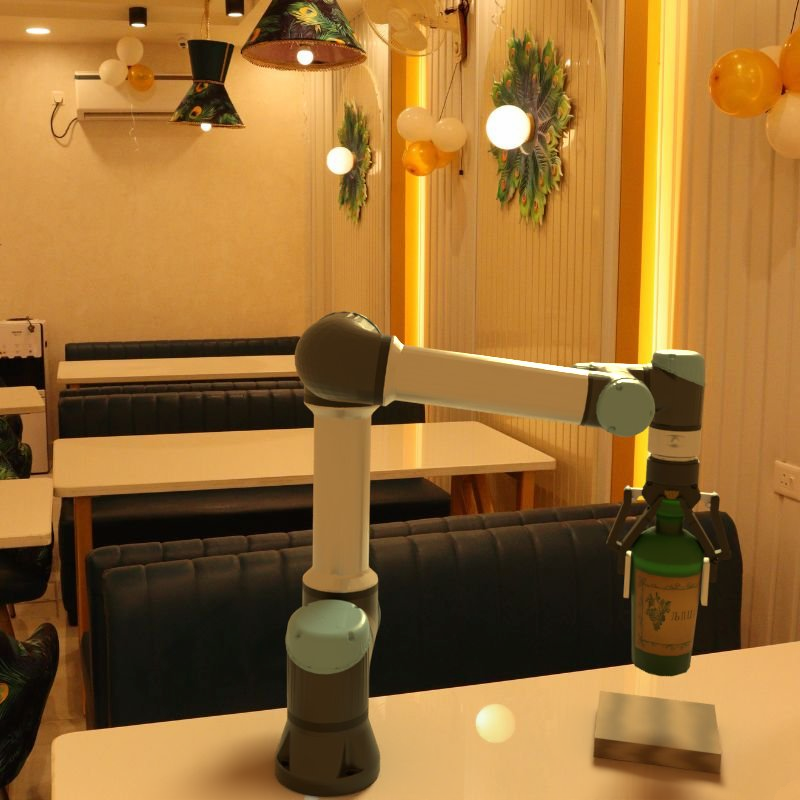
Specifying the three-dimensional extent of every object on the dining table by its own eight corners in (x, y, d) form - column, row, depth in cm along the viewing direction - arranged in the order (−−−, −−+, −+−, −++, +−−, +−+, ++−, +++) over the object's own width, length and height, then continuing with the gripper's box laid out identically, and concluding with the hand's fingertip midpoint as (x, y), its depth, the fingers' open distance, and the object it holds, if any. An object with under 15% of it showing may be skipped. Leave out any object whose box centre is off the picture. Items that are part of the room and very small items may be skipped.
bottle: (646, 685, 146) (657, 499, 142) (612, 655, 156) (621, 481, 152) (710, 677, 149) (723, 495, 144) (673, 649, 159) (684, 478, 155)
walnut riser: (593, 756, 149) (594, 737, 149) (598, 707, 164) (599, 690, 164) (719, 773, 145) (721, 754, 144) (713, 722, 160) (714, 704, 160)
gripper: (592, 455, 146) (585, 599, 150) (758, 466, 141) (747, 615, 145) (594, 445, 154) (588, 582, 157) (753, 455, 148) (743, 597, 152)
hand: (664, 598), depth 151 cm, fingers closed on bottle, 11 cm apart
